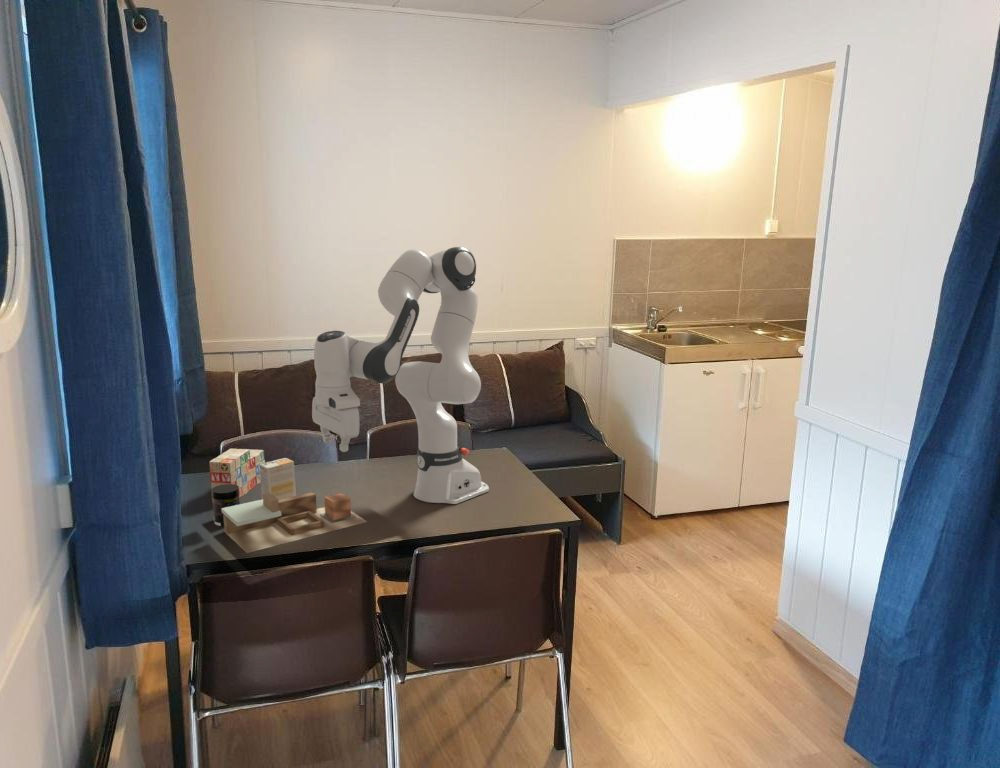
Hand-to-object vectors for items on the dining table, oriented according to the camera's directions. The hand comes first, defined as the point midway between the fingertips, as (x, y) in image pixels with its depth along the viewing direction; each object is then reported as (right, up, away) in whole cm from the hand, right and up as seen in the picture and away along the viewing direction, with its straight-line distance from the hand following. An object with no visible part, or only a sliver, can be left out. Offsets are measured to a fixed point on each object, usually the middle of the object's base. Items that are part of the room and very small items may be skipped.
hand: (335, 446), depth 203 cm
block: (0, -19, +4) cm, 19 cm away
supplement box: (-19, -18, +14) cm, 30 cm away
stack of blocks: (-34, -15, +27) cm, 46 cm away
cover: (-19, -16, -9) cm, 26 cm away
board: (-9, -22, -3) cm, 24 cm away
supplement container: (-28, -21, 0) cm, 35 cm away
